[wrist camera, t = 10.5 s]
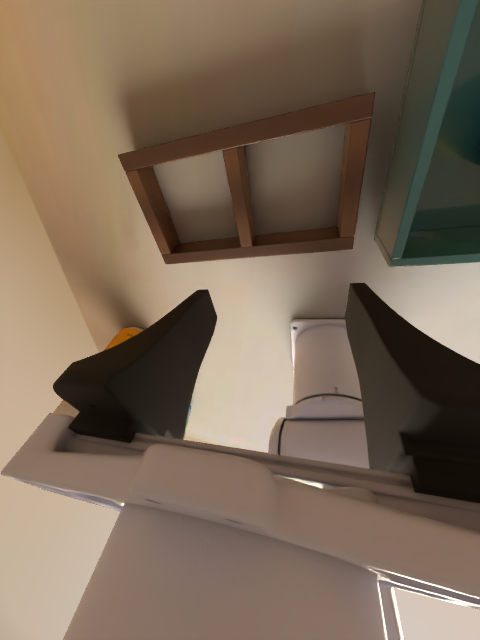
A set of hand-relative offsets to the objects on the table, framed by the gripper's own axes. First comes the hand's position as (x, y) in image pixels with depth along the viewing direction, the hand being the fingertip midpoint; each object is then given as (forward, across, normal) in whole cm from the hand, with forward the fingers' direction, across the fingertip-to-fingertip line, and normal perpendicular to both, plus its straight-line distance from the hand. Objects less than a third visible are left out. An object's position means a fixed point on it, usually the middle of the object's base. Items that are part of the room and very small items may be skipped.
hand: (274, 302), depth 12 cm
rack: (+10, +3, -3) cm, 11 cm away
